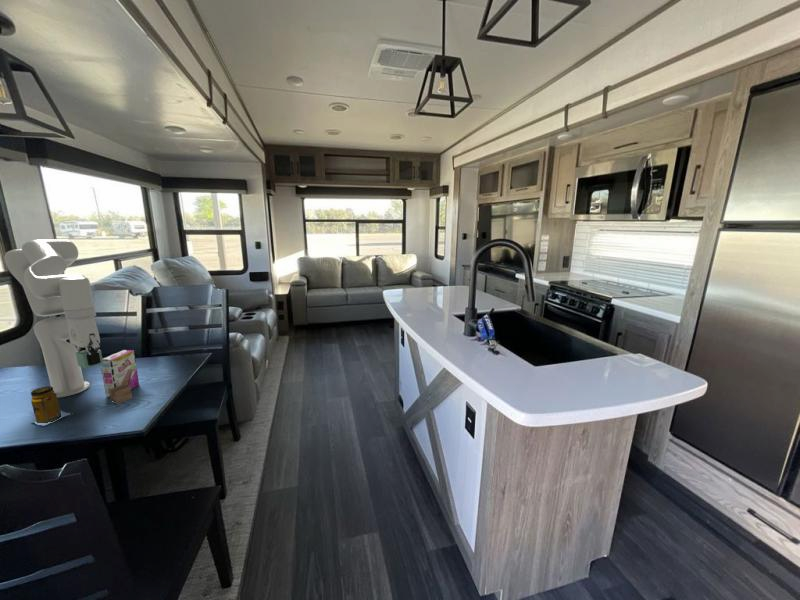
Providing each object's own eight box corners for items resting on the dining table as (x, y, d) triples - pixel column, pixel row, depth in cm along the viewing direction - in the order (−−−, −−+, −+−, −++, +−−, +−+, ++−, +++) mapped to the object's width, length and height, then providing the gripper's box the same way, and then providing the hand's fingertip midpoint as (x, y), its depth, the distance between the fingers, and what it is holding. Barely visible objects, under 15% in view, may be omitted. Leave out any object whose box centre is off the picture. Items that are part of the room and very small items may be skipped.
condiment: (30, 423, 113) (22, 392, 110) (60, 410, 121) (53, 381, 118) (44, 427, 111) (36, 395, 108) (74, 414, 119) (67, 384, 116)
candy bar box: (117, 398, 130) (110, 360, 126) (105, 397, 130) (98, 359, 127) (140, 385, 141) (134, 349, 137) (129, 384, 141) (123, 349, 137)
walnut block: (110, 401, 128) (108, 389, 127) (125, 395, 132) (123, 384, 131) (117, 404, 126) (115, 392, 125) (132, 398, 130) (130, 387, 129)
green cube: (78, 365, 113) (75, 352, 112) (96, 360, 118) (93, 347, 116) (85, 368, 111) (82, 355, 110) (103, 363, 116) (100, 350, 114)
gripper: (53, 312, 110) (65, 361, 114) (78, 319, 103) (89, 371, 107) (82, 307, 117) (91, 354, 121) (107, 313, 110) (116, 363, 114)
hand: (90, 362), depth 114 cm, fingers closed on green cube, 4 cm apart
